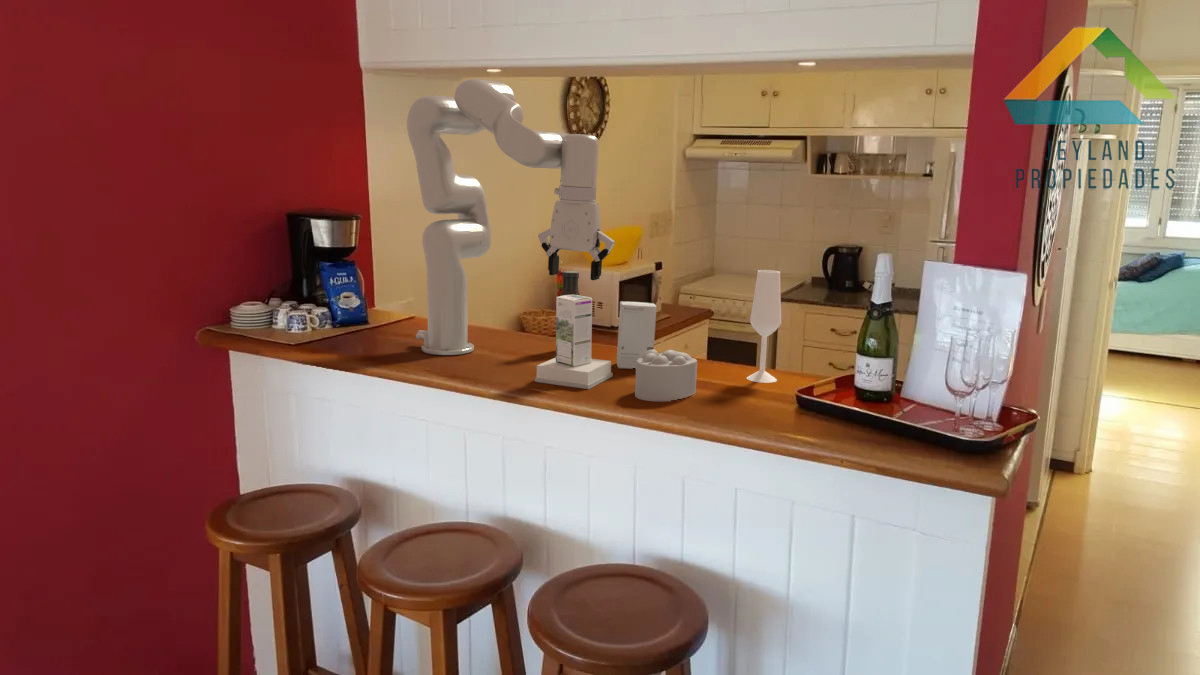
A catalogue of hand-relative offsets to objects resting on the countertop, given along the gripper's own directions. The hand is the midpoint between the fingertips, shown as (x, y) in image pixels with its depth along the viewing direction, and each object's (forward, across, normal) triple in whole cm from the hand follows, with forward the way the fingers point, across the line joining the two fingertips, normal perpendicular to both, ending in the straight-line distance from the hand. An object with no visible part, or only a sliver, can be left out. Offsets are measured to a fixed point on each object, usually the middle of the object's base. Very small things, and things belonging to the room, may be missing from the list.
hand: (574, 277), depth 183 cm
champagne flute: (+21, +37, +21) cm, 48 cm away
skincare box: (+22, +8, +18) cm, 30 cm away
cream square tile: (+22, +1, 0) cm, 22 cm away
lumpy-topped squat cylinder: (+22, +22, -2) cm, 31 cm away
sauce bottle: (+23, -12, +24) cm, 35 cm away
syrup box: (+19, +1, 0) cm, 19 cm away
